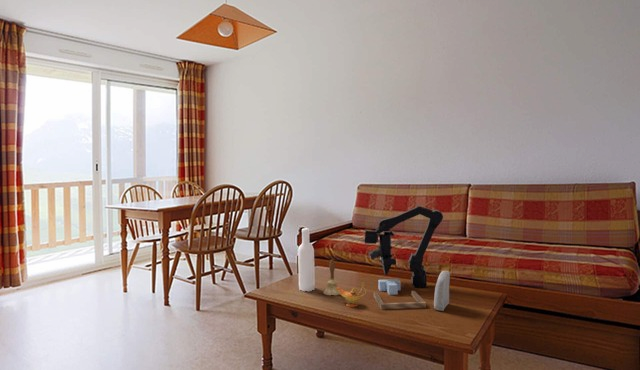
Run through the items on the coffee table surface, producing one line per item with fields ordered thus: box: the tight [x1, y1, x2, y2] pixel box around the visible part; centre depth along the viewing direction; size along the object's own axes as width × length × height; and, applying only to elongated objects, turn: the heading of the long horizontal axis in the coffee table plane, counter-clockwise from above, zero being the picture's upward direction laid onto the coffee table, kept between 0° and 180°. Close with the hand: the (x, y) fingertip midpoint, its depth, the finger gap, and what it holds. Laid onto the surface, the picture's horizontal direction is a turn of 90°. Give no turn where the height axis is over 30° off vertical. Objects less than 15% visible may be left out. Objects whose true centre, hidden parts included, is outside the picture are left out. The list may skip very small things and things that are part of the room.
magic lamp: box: [332, 281, 367, 308], centre depth 166 cm, size 7×18×11 cm, turn 50°
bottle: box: [297, 227, 316, 292], centre depth 188 cm, size 8×8×30 cm
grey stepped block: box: [377, 278, 402, 296], centre depth 182 cm, size 10×10×4 cm
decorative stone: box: [433, 270, 451, 312], centre depth 160 cm, size 11×6×15 cm, turn 151°
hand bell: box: [323, 259, 341, 296], centre depth 182 cm, size 8×8×16 cm
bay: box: [373, 290, 427, 310], centre depth 167 cm, size 19×16×2 cm
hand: (385, 274), depth 193 cm, fingers closed
